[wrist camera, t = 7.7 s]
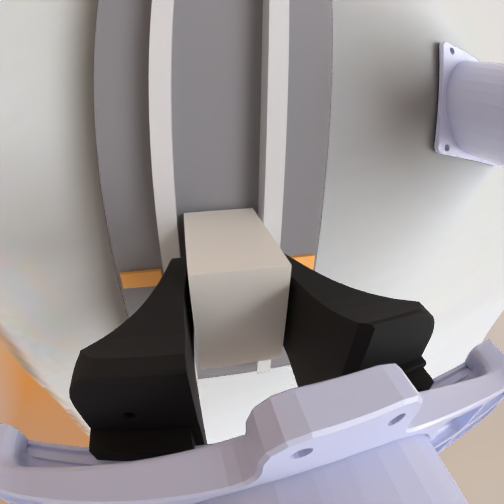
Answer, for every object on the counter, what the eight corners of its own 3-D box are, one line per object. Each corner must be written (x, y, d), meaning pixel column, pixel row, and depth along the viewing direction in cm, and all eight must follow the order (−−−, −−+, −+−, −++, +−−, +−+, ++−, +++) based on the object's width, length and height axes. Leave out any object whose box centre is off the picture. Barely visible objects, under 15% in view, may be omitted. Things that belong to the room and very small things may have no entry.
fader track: (309, -96, 7) (330, -117, 4) (289, 343, 21) (304, 373, 18) (131, -103, 5) (127, -130, 2) (150, 360, 19) (149, 395, 16)
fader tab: (252, 207, 13) (291, 264, 9) (250, 284, 15) (281, 357, 11) (183, 212, 12) (188, 275, 8) (190, 291, 14) (200, 369, 10)
